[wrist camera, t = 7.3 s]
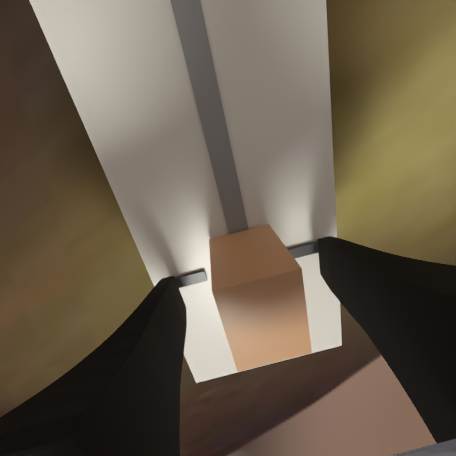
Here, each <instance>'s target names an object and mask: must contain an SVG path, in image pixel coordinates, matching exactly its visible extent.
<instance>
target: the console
mask: <svg viewBox="0 0 456 456" xmlns="http://www.w3.org/2000/svg"><path fill="white" fill-rule="evenodd" d="M30 3H31V5H32V7H33V10H34V12H35V14H36V17H37V19H38V21H39V23H40V26H41V28H42V30H43V33H44V35H45V37H46V39H47V42H48V44H49V46H50V49H51V51H52V53H53V55H54V58H55V60H56V62H57V65H58V67H59V69H60V72H61V74H62V76H63V78H64V81H65V83H66V85H67V88H68V90H69V92H70V94H71V97H72V99H73V101H74V104H75V106H76V108H77V110H78V113H79V115H80V117H81V120H82V122H83V124H84V127H85V129H86V131H87V133H88V136H89V138H90V140H91V143H92V145H93V147H94V149H95V152H96V154H97V156H98V159H99V161H100V163H101V165H102V168H103V170H104V172H105V175H106V177H107V179H108V182H109V184H110V186H111V188H112V191H113V193H114V195H115V198H116V200H117V202H118V204H119V207H120V209H121V211H122V214H123V216H124V218H125V220H126V223H127V225H128V227H129V230H130V232H131V234H132V237H133V239H134V241H135V243H136V246H137V248H138V250H139V253H140V255H141V257H142V259H143V262H144V264H145V266H146V269H147V271H148V273H149V275H150V278H151V280H152V282H153V285H154V287H155V286H156V284H157V283H158V282H159V281H160V280H161V279H162V278H166V277H170V276H174V277H175V280H176V282H177V285H178V287H179V290H180V293H181V295H182V298H183V300H184V303H185V306H186V315H187V328H186V337H185V346H184V356H185V358H186V360H187V363H188V365H189V367H190V369H191V372H192V374H193V376H194V379H195V381H196V383H198V382H202V381H206V380H209V379H213V378H217V377H221V376H225V375H229V374H233V373H237V368H236V365H235V362H234V359H233V356H232V353H231V349H230V346H229V343H228V340H227V337H226V334H225V331H224V327H223V324H222V321H221V318H220V315H219V312H218V309H217V305H216V302H215V299H214V296H213V293H212V283H211V265H210V248H209V239H213V238H217V237H220V236H224V235H228V234H232V233H236V232H240V231H244V230H248V229H252V228H256V227H260V226H264V225H268V224H269V225H270V226H271V228H272V229H273V230H274V232H275V233H276V234H277V236H278V237H279V238H280V240H281V241H282V242H283V244H284V245H285V246H286V248H287V249H288V250H289V252H290V253H291V255H292V256H293V257H294V259H295V260H296V261H297V263H298V264H299V265H300V267H301V268H302V274H303V283H304V291H305V299H306V308H307V316H308V324H309V333H310V341H311V349H312V353H314V352H318V351H322V350H326V349H330V348H334V347H338V346H342V338H341V316H340V301H339V300H338V299H337V297H336V296H335V295H334V294H333V293H332V291H331V290H330V289H329V287H328V285H327V284H326V282H325V281H324V279H323V277H322V276H321V274H320V266H319V254H318V242H317V239H320V238H324V237H327V236H332V237H336V238H337V228H336V206H335V184H334V162H333V140H332V118H331V96H330V74H329V52H328V30H327V8H326V0H30ZM309 354H310V353H309ZM306 355H307V354H306ZM302 356H303V355H302ZM298 357H299V356H298ZM294 358H295V357H294ZM290 359H291V358H290ZM286 360H287V359H286ZM282 361H283V360H282ZM278 362H279V361H278ZM275 363H276V362H275ZM271 364H272V363H271ZM267 365H268V364H267ZM263 366H264V365H263ZM259 367H260V366H259ZM255 368H256V367H255ZM251 369H252V368H251ZM247 370H248V369H247ZM243 371H244V370H243ZM240 372H241V371H240Z"/></svg>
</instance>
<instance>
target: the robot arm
mask: <svg viewBox="0 0 456 456" xmlns="http://www.w3.org/2000/svg"><path fill="white" fill-rule="evenodd" d="M317 242H318V254H319V266H320V274H321V276H322V277H323V279H324V281H325V282H326V284H327V285H328V287H329V289H330V290H331V291H332V293H333V294H334V295H335V296H336V297H337V299H338V300H339V301H340V302H341V303H342V305H343V306H344V307H345V308H346V309H347V310H348V312H349V313H350V314H351V315H352V316H353V318H354V319H355V320H356V321H357V322H358V323H359V325H360V326H361V327H362V328H363V329H364V331H365V332H366V333H367V335H368V336H369V337H370V339H371V340H372V342H373V343H374V344H375V346H376V347H377V349H378V350H379V352H380V353H381V355H382V356H383V358H384V359H385V361H386V362H387V364H388V365H389V367H390V368H391V369H392V371H393V372H394V374H395V375H396V377H397V379H398V380H399V382H400V383H401V385H402V386H403V388H404V390H405V391H406V393H407V394H408V396H409V398H410V399H411V401H412V403H413V404H414V406H415V407H416V409H417V411H418V412H419V414H420V416H421V417H422V419H423V421H424V422H425V424H426V426H427V427H428V429H429V431H430V433H431V434H432V436H433V438H434V439H435V441H436V442H437V444H433V445H430V446H426V447H422V448H418V449H414V450H411V451H407V452H403V453H399V454H395V455H391V456H456V266H454V265H446V264H439V263H433V262H427V261H422V260H417V259H411V258H407V257H402V256H398V255H394V254H390V253H386V252H382V251H379V250H375V249H372V248H368V247H365V246H362V245H359V244H355V243H352V242H349V241H346V240H343V239H339V238H336V237H332V236H327V237H324V238H320V239H317ZM186 328H187V315H186V306H185V303H184V300H183V298H182V295H181V293H180V290H179V287H178V285H177V282H176V280H175V277H174V276H170V277H166V278H162V279H161V280H160V281H159V282H158V283H157V284H156V286H155V287H154V288H153V289H152V290H151V292H150V293H149V294H148V295H147V297H146V298H145V299H144V300H143V301H142V303H141V304H140V305H139V306H138V307H137V308H136V310H135V311H134V312H133V313H132V314H131V315H130V316H129V317H128V318H127V320H126V321H125V322H124V323H123V324H122V325H121V326H120V327H119V328H118V329H117V330H116V331H115V332H114V333H113V334H112V335H111V336H110V337H109V338H108V339H107V340H105V341H104V342H103V343H102V344H101V345H100V346H99V347H98V348H96V349H95V350H94V351H93V352H92V353H90V354H89V355H88V356H87V357H86V358H84V359H83V360H82V361H81V362H80V363H78V364H77V365H76V366H75V367H73V368H72V369H71V370H69V371H68V372H67V373H65V374H64V375H63V376H62V377H60V378H59V379H57V380H56V381H55V382H53V383H52V384H50V385H49V386H48V387H46V388H45V389H43V390H42V391H40V392H39V393H38V394H36V395H35V396H33V397H31V398H30V399H28V400H27V401H25V402H24V403H22V404H21V405H19V406H18V407H16V408H15V409H13V410H12V411H10V412H9V413H7V414H5V415H4V416H2V417H1V418H0V456H180V444H179V425H180V381H181V370H182V362H183V354H184V346H185V337H186Z"/></svg>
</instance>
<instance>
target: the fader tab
mask: <svg viewBox="0 0 456 456" xmlns="http://www.w3.org/2000/svg"><path fill="white" fill-rule="evenodd" d="M209 248H210V265H211V283H212V293H213V296H214V299H215V302H216V305H217V309H218V312H219V315H220V318H221V321H222V324H223V327H224V331H225V334H226V337H227V340H228V343H229V346H230V349H231V353H232V356H233V359H234V362H235V365H236V368H237V372H240V371H243V370H247V369H251V368H255V367H259V366H263V365H267V364H271V363H275V362H278V361H282V360H286V359H290V358H294V357H298V356H302V355H306V354H309V353H312V349H311V341H310V333H309V324H308V316H307V308H306V299H305V291H304V283H303V274H302V268H301V267H300V265H299V264H298V263H297V261H296V260H295V259H294V257H293V256H292V255H291V253H290V252H289V250H288V249H287V248H286V246H285V245H284V244H283V242H282V241H281V240H280V238H279V237H278V236H277V234H276V233H275V232H274V230H273V229H272V228H271V226H270V225H269V224H268V225H264V226H260V227H256V228H252V229H248V230H244V231H240V232H236V233H232V234H228V235H224V236H220V237H217V238H213V239H209Z"/></svg>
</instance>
